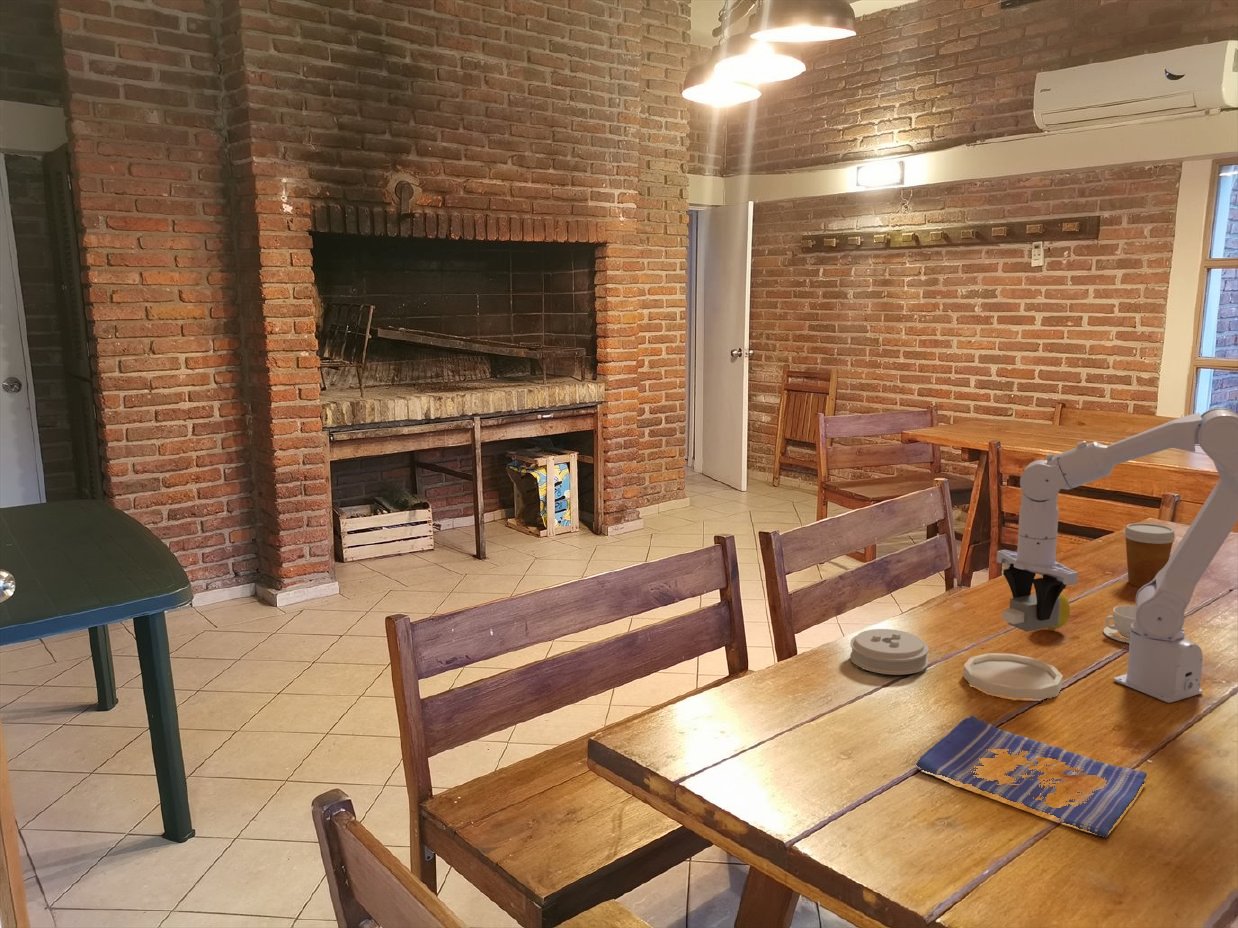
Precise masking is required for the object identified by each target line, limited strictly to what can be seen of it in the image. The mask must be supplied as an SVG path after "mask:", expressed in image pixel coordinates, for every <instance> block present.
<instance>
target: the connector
mask: <svg viewBox="0 0 1238 928" xmlns="http://www.w3.org/2000/svg"><path fill="white" fill-rule="evenodd" d="M1060 605H1061V597H1060V596H1059V597H1058V599H1057V601H1056V603H1055V605H1054V608H1053V610H1052V613H1051V616H1050V619H1047V620H1043V621H1040V620H1037V598H1036V593H1034V594H1031V595H1028V596H1023V597H1017V598H1013V597H1012V598H1010V599H1009V608H1008V609H1007V608H1006V609H1003V610H1002V617H1001V618H1002V619H1001V620H1002V621H1005V622H1007V623H1008V625H1009V626H1012V627H1014V628H1016V629H1019V630H1021V631H1023V632H1027V633H1028V632H1032V631H1037V630H1042V629H1043V630H1044V629H1046V628H1047V629H1048V627H1052V626H1057V625H1059V618H1060Z"/></svg>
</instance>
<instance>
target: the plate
mask: <svg viewBox="0 0 1238 928" xmlns="http://www.w3.org/2000/svg"><path fill="white" fill-rule="evenodd" d="M963 676H964V677H966V679H967V680H968V682H969V684H970V685H972V686H975V687H978V688H980V689H981V690H983V691H985V692H987V693H989V694H990V693H991V694H994V695H1003V696H1007V697H1013V698H1033V699H1046V698H1050V699H1052V698H1051V697H1054V698H1056V697H1055V696H1057V697H1058V696H1059V694H1060V693H1059V692H1061V691H1062V689H1063V680H1064V679H1063V678H1064V675H1063V674H1062V673H1061V672H1060V671H1059V670H1058V669H1057V668H1056V667H1055V665H1052V664H1050V663H1047V662H1045V661H1042V660H1040V659H1038V658H1035V657H1030V656H1024V655H1019V654H1015V653H1002V652H999V653H997V652H996V653H995V652H994V653H993V652H991V653H983V654H978V655H975V656H971V657H969V658H968V660H967V661H966V662H965V663H964V664H963ZM964 677H963V678H964ZM969 684H968V685H969ZM1061 688H1062V689H1061ZM1060 690H1061V691H1060Z"/></svg>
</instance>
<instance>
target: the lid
mask: <svg viewBox="0 0 1238 928" xmlns="http://www.w3.org/2000/svg"><path fill="white" fill-rule="evenodd" d="M850 647H851V652H850V654H849V657H850V661H851V662H852V663H853V664H854V665H855V666H857V667H859V668H861V669H863V670H866V671H869V672H873V673H876V674H877V673H878V674H881V675H892V676H893V675H894V676H896V675H897V676H898V675H899V676H901V675H903V676H905V675H910V674H911V675H912V674H917V673H919V672H922V671H923V670H925V669H927V668H928V666H929V660H928V658H927V657H928V654H929V650H930V649H929V645H928V644H927V643H926V642H925V641H924V640H923V639H922V638H920V637H919V636H917V635H916V634H913V633H911V632H907V631H905V630H898V629H891V628H874V629H869V630H863V631H861V632H859V633H858V634H857V635H855V636H854V637H852V638H851V639H850Z"/></svg>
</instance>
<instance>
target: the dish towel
mask: <svg viewBox="0 0 1238 928" xmlns="http://www.w3.org/2000/svg"><path fill="white" fill-rule="evenodd" d="M986 749H987V750H986ZM988 749H1009V751H1007V752H1008V754H1010V756H1011V755H1012V754H1013V755H1017V753H1018V755H1019V753H1020V750H1021V752H1022V750H1023V751H1028V754H1026V755H1024V756H1022V757H1024V758H1027V761H1031V763H1032V762H1034V764H1033V766H1035V764H1038V760H1036V758H1038V757H1045V758H1052V759H1056V760H1058V761H1061V762H1066V763H1065V765H1067V766H1070V768H1071V767H1072V768H1073V767H1076V770H1077V768H1078V770H1079V769H1084V770H1083V771H1082V770H1081V772H1080V771H1079V773H1077V772H1075V770H1074V772H1073V770H1072V771H1071V770H1067V772H1066V770H1065V772H1063V774H1065V775H1080V773H1084V772H1086V774H1085V773H1084V774H1083V775H1096V776H1097V777H1098V776H1099V778H1100V776H1101V778H1102V777H1103V779H1104V777H1105V780H1107V782H1106V784H1107V785H1106V787H1105V788H1103V789H1099V790H1096V791H1094V792H1093V791H1092V793H1094V794H1093V796H1092V795H1091V798H1090V796H1089V800H1088V799H1087V801H1085V802H1087V803H1085V804H1084V803H1082V804H1081V805H1080V804H1079V805H1078V806H1076V807H1074V805H1073V806H1072V805H1070V804H1068V806H1067V805H1066V806H1063V807H1061V808H1052V807H1050V806H1047V805H1046V804H1044V803H1042V802H1046V798H1045V797H1047V794H1048V793H1049V794H1050V793H1054V792H1055V791H1056V790H1057V789H1056V787H1055V786H1054V788H1053V786H1052V787H1050V785H1048V788H1047V787H1046V788H1045V786H1044V785H1043V787H1042V788H1041V785H1040V787H1039V784H1041V782H1040V781H1038V780H1040V779H1037V778H1038V775H1039V776H1040V775H1046V773H1044V772H1042V773H1041V771H1040V772H1039V771H1037V769H1034V770H1033V769H1032V770H1029V769H1028V768H1029V767H1027V766H1032V765H1030V764H1029V763H1028V764H1029V765H1015V766H1018V767H1016V769H1014V771H1009V772H1007V773H1005V774H1004V775H1006V776H1007V775H1008V776H1010V777H1012V778H1014V781H1016V782H1013V783H1012V782H1010V783H1011V784H1019V785H1010V783H1009V784H1008V783H1007V784H1006V783H1005V784H1002V785H997V784H999V781H998V780H994V781H990V780H989V781H987V779H984V778H983V779H982V778H977V777H976V776H973V775H979V774H977V773H976V774H975V772H974V773H973V771H976V769H978V768H976V767H975V768H974V766H984V765H982V763H980V761H979V758H980V759H981V758H995V755H999V754H995V753H993V752H991V750H990V751H988ZM1010 750H1011V751H1010ZM1010 752H1011V753H1010ZM1012 752H1013V753H1012ZM1003 753H1004V752H1003ZM1029 753H1030V754H1029ZM1013 755H1012V756H1013ZM1036 755H1037V756H1036ZM993 756H994V757H993ZM996 758H997V757H996ZM1031 758H1032V759H1031ZM1033 758H1035V760H1033ZM978 762H979V763H978ZM915 764H916V765H917V766H918V767H920V768H922V770H924V771H927V772H930V773H933V774H935V775H942V776H945V777H948V778H951V779H953V780H955V781H960V782H962V783H963V784H972V786H974V787H976V788H978V789H980V790H982V791H987V792H989V793H992V794H997V795H999V796H1001V797H1003V798H1005V799H1007V800H1010V801H1013V802H1017V803H1021V802H1022V803H1023V804H1024V805H1025V806H1027V807H1029V808H1032V809H1035V810H1037V811H1042V812H1045V813H1047V814H1048V813H1050V815H1054V816H1056V817H1057V818H1060V819H1059V820H1061V822H1063V823H1066V824H1070V825H1073V826H1076V827H1078V828H1079V829H1084V830H1087V831H1090V832H1092V833H1095V834H1097V835H1101V836H1104V837H1103V838H1108V837H1109V836H1108V833H1109V831H1110V830H1111V829H1112V828H1113V825H1114V824H1115V823H1116V822H1117V820H1118V819H1119V818H1120V816H1121V815H1122V814H1123V813H1124V811H1125V810H1126V808H1127V807H1128V806H1129V804H1130V803H1131V802H1132V801H1133V800H1134V798H1135V797H1136V795H1137V793H1138V791H1139V789H1140V787H1141V786H1142V784H1144V783H1145V784H1146V781H1145V779H1146V778H1147V775H1148V773H1147V772H1146V771H1141V770H1136V769H1133V768H1129V767H1125V766H1116V765H1115V766H1114V765H1112V764H1109V763H1106V762H1101V761H1097V760H1095V759H1091V758H1089V757H1087V756H1084V755H1082V754H1078V753H1075V752H1073V751H1072V752H1071V751H1068V750H1066V749H1064V748H1060V747H1058V746H1051V745H1050V744H1047V743H1044V742H1040V741H1037V740H1033V739H1030V738H1029V737H1027V736H1022V735H1018V734H1014V733H1012V732H1010V731H1007V730H1003V729H1000V728H998V727H995V726H994V725H992V724H991V723H989V722H986V721H984V720H981V719H979V718H978V717H976V716H975V715H970V716H969V717H965V718H964V719H963V720H961V721H960V722H959V723H958V724H957V725H956V726H955V727H954V728H953V729H952V730H950V732H949V733H947V735H946V736H944V737H943V738H941V739H940V740H939V741H937V742H936V743H935V744H934V745H933V746H932V747H930V748H929V749H928V750H927V751H926V752H925V753H923V755H921V756H920V757H919V759H918V761H917V762H916V763H915ZM1026 764H1027V763H1026ZM1024 766H1026V767H1024ZM1036 766H1037V765H1036ZM1044 766H1045V765H1044ZM1046 766H1047V764H1046ZM1048 766H1050V765H1048ZM1051 766H1057V765H1055V764H1054V765H1051ZM970 769H971V770H970ZM974 769H975V770H974ZM1052 769H1054V768H1052V767H1051V770H1052ZM1035 770H1036V771H1035ZM971 771H972V772H971ZM1021 771H1022V772H1021ZM1023 771H1024V773H1023ZM1031 771H1032V773H1031ZM1033 771H1034V772H1033ZM1026 773H1027V775H1035V776H1033V777H1032V776H1031V777H1026V778H1025V779H1024V778H1022V776H1019V775H1024V774H1025V775H1026ZM1053 773H1054V772H1053ZM1051 774H1052V773H1051ZM1061 774H1062V773H1061ZM1014 775H1015V776H1014ZM1017 775H1018V776H1017ZM1081 775H1082V774H1081ZM974 777H975V778H974ZM1015 778H1016V780H1015ZM1030 779H1031V780H1030ZM1032 779H1033V780H1032ZM1052 779H1053V780H1052ZM1052 779H1051V780H1052V782H1053V781H1058V780H1059V781H1060V782H1061V781H1062V782H1063V781H1064V780H1065V779H1064V780H1062V779H1054V778H1052ZM1041 780H1042V779H1041ZM1019 781H1020V782H1019ZM1043 781H1045V780H1043ZM1047 781H1048V780H1047ZM1047 781H1046V782H1047ZM1049 781H1050V779H1049ZM1065 781H1066V780H1065ZM1065 781H1064V782H1065ZM1044 784H1045V783H1044ZM1049 784H1050V783H1049ZM1052 784H1056V783H1052ZM1057 784H1058V783H1057ZM1060 784H1061V783H1060ZM1044 788H1045V789H1044ZM1029 793H1030V795H1029ZM1040 793H1041V795H1040ZM1055 793H1056V792H1055ZM1077 793H1080V792H1077ZM1081 793H1082V792H1081ZM1083 793H1084V792H1083ZM1039 795H1040V798H1041V797H1042V796H1043V797H1044V798H1043V797H1042V798H1043V799H1042V801H1041V800H1035V799H1036V798H1037V797H1039ZM1033 797H1034V799H1033ZM1066 802H1067V801H1066ZM1069 802H1077V800H1076V801H1075V799H1074V801H1073V799H1072V800H1071V799H1070V800H1069ZM1078 802H1079V800H1078ZM1022 803H1021V804H1022Z"/></svg>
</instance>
